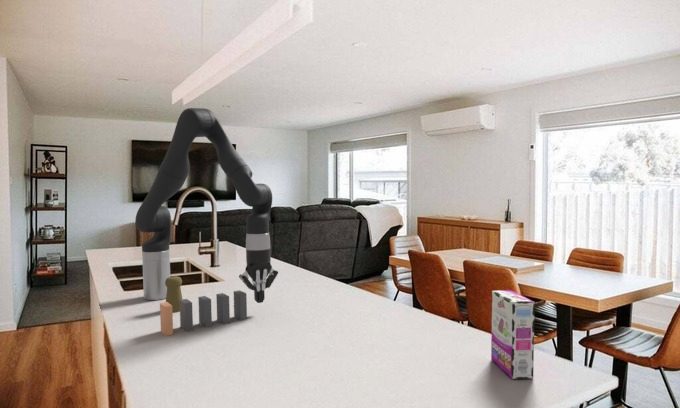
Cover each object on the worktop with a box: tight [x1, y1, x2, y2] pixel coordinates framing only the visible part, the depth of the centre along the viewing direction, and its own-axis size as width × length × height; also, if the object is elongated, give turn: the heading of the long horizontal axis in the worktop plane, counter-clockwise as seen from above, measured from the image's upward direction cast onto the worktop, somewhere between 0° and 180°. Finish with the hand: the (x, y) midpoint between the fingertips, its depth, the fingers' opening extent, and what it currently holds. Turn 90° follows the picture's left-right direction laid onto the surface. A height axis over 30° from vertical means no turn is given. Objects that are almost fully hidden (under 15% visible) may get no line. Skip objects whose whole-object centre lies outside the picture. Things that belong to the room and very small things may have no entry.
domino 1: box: [179, 298, 194, 332], centre depth 133 cm, size 5×2×8 cm, turn 36°
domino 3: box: [215, 292, 231, 325], centre depth 140 cm, size 5×2×8 cm, turn 36°
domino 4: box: [233, 289, 248, 321], centre depth 143 cm, size 5×2×8 cm, turn 36°
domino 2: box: [197, 295, 213, 329], centre depth 136 cm, size 5×2×8 cm, turn 36°
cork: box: [165, 275, 184, 314], centre depth 153 cm, size 6×6×11 cm
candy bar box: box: [490, 289, 536, 380], centre depth 102 cm, size 11×5×16 cm, turn 5°
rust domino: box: [159, 301, 174, 336], centre depth 130 cm, size 5×2×8 cm, turn 36°
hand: (259, 302), depth 146 cm, fingers closed
